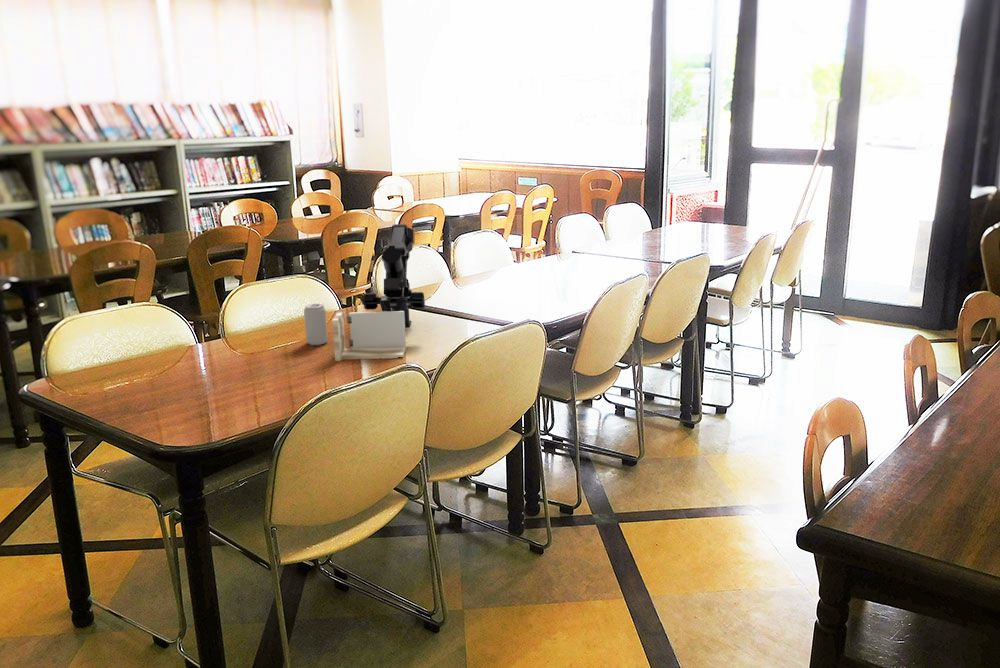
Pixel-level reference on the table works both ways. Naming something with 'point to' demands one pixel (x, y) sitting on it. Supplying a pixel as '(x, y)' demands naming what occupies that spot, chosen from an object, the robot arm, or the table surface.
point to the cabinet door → (377, 329)
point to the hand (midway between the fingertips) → (393, 324)
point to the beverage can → (315, 324)
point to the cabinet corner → (358, 352)
